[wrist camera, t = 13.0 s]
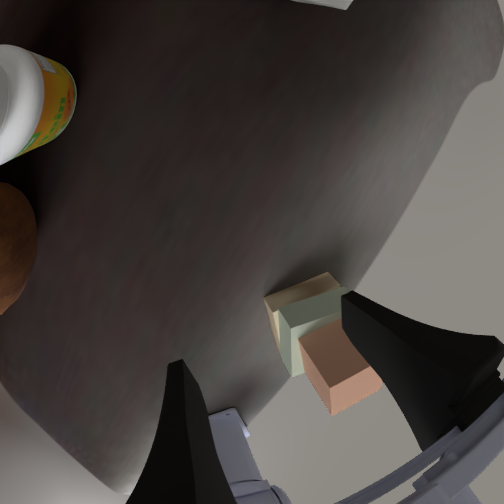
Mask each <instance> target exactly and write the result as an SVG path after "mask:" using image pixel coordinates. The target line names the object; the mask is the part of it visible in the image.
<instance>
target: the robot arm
mask: <svg viewBox="0 0 504 504" xmlns="http://www.w3.org/2000/svg"><path fill="white" fill-rule="evenodd" d="M341 316H342V329H343V330H344V332H345V333H346V335H347V337H348V338H349V340H350V341H351V343H352V344H353V346H354V347H355V348H356V349H357V351H358V352H359V353H360V354H361V355H362V357H363V358H364V359H365V360H366V361H367V363H368V364H369V365H370V366H371V367H372V368H373V370H374V371H375V372H376V373H377V374H378V376H379V377H380V378H381V379H382V381H383V382H384V383H385V385H386V386H387V388H388V390H389V391H390V393H391V394H392V396H393V397H394V399H395V400H396V402H397V404H398V406H399V407H400V409H401V411H402V412H403V414H404V416H405V418H406V420H407V422H408V423H409V425H410V427H411V429H412V431H413V433H414V435H415V437H416V439H417V442H418V444H419V446H420V448H421V450H422V451H423V452H422V453H421V454H419V455H418V456H416V457H415V458H414V459H412V460H410V461H409V462H407V463H406V464H404V465H403V466H401V467H400V468H398V469H397V470H395V471H394V472H392V473H391V474H389V475H387V476H386V477H384V478H382V479H380V480H379V481H377V482H375V483H373V484H372V485H370V486H368V487H366V488H364V489H362V490H361V491H359V492H357V493H355V494H353V495H351V496H349V497H347V498H345V499H343V500H341V501H339V502H337V503H335V504H368V503H370V502H372V501H373V500H375V499H377V498H379V497H381V496H382V495H384V494H386V493H387V492H389V491H391V490H392V489H394V488H396V487H397V486H399V485H400V484H402V483H404V482H405V481H407V480H408V479H410V478H411V477H413V476H414V475H416V474H417V473H418V472H420V471H421V470H423V469H424V468H426V467H427V466H428V465H429V464H431V463H432V462H434V461H435V460H436V459H438V458H439V457H440V456H441V457H440V460H439V461H438V462H437V463H436V464H435V465H434V466H432V467H431V468H430V469H428V470H427V471H426V472H424V473H423V475H422V476H421V477H420V478H419V479H417V480H416V481H415V482H414V483H413V487H414V488H415V489H416V491H415V492H414V493H412V494H411V495H409V496H408V497H406V498H405V499H403V500H402V501H400V502H398V503H397V504H481V502H480V501H479V500H478V498H477V497H476V495H475V494H474V493H473V491H472V490H471V489H470V487H469V486H468V485H469V484H470V483H471V482H472V481H473V480H474V479H475V478H476V477H477V476H479V474H481V473H482V472H483V471H484V469H486V467H487V466H488V465H489V464H490V463H491V462H492V461H493V460H494V459H495V458H496V457H497V456H498V455H499V454H500V452H501V451H502V450H503V449H504V378H503V380H501V379H500V378H499V376H500V372H499V371H498V370H497V368H498V366H499V364H500V362H501V361H502V359H503V357H504V344H503V343H501V341H499V340H498V339H497V338H496V337H495V336H487V335H473V334H465V333H459V332H454V331H449V330H445V329H440V328H437V327H433V326H430V325H427V324H424V323H421V322H418V321H415V320H413V319H410V318H408V317H405V316H403V315H401V314H398V313H396V312H394V311H392V310H390V309H388V308H385V307H384V306H382V305H380V304H377V303H375V302H374V301H371V300H370V299H368V298H366V297H364V296H362V295H360V294H358V293H356V292H354V291H350V292H348V293H346V294H344V295H341ZM248 436H250V433H249V431H248V429H247V428H246V426H245V424H244V423H243V421H242V419H241V417H240V416H239V414H238V412H237V411H236V409H235V408H230V409H227V410H225V411H222V412H219V413H216V414H213V415H210V416H208V413H207V409H206V405H205V402H204V399H203V396H202V393H201V390H200V387H199V385H198V383H197V382H196V380H195V378H194V377H193V375H192V374H191V372H190V370H189V369H188V367H187V366H186V364H185V362H184V361H183V359H181V360H178V361H175V362H172V363H169V364H168V367H167V378H166V386H165V393H164V399H163V404H162V410H161V414H160V419H159V423H158V428H157V431H156V435H155V438H154V442H153V445H152V448H151V451H150V454H149V456H148V459H147V462H146V464H145V467H144V469H143V471H142V473H141V476H140V478H139V480H138V482H137V484H136V486H135V488H134V490H133V492H132V493H131V495H130V497H129V499H128V500H127V502H126V504H291V501H290V499H289V498H288V496H287V494H286V493H285V492H284V491H283V490H282V489H281V488H279V487H277V486H275V485H271V486H270V485H269V483H268V480H262V477H261V475H260V472H259V470H258V468H257V465H256V463H255V460H254V458H253V455H252V453H251V450H250V448H249V445H248V443H247V440H246V437H248Z"/></svg>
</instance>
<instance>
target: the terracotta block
mask: <svg viewBox="0 0 504 504" xmlns="http://www.w3.org/2000/svg"><path fill="white" fill-rule="evenodd" d="M298 343H299V347H300V352H301V357H302V362H303V367H304V372H305V373H306V375H307V376H308V378H309V380H310V381H311V383H312V385H313V386H314V388H315V390H316V391H317V393H318V394H319V396H320V398H321V399H322V401H323V403H324V404H325V406H326V407H327V409H328V411H329V412H330V414H331V416H333V415H335V414H336V413H339V412H340V411H342V410H344V409H346V408H348V407H350V406H352V405H353V404H355V403H357V402H359V401H360V400H362V399H364V398H366V397H368V396H369V395H371V394H372V393H374V392H376V391H378V390H379V389H381V387H382V382H383V381H382V379H381V378H380V377H379V376H378V374H377V373H376V372H375V371H374V370H373V368H372V367H371V366H370V365H369V364H368V363H367V361H366V360H365V359H364V358H363V357H362V355H361V354H360V353H359V352H358V351H357V349H356V348H355V347H354V346H353V344H352V343H351V341H350V340H349V338H348V337H347V335H346V333H345V332H344V330H343V329H342V318H340V319H338V320H336V321H334V322H332V323H330V324H328V325H326V326H324V327H322V328H320V329H318V330H316V331H314V332H311V333H309V334H307V335H305V336H303V337H301V338H299V339H298Z"/></svg>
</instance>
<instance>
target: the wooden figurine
mask: <svg viewBox="0 0 504 504" xmlns="http://www.w3.org/2000/svg"><path fill="white" fill-rule="evenodd" d="M36 255H37V225H36V219H35V214H34V211H33V209H32V207H31V205H30V202H29V201H28V199H27V198H26V197H25V195H24V194H23V193H22V191H20V190H18V189H17V188H15V187H13V186H12V185H10V184H9V183H1V182H0V315H2V314H3V312H4V311H5V310H6V309H7V308H8V307H9V306H10V305H11V304H12V303H14V302H15V301H16V300H17V299H18V298H19V296H20V294H21V293H22V291H23V289H24V287H25V285H26V283H27V280H28V278H29V276H30V273H31V271H32V268H33V266H34V263H35V259H36Z"/></svg>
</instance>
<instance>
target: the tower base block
mask: <svg viewBox="0 0 504 504" xmlns="http://www.w3.org/2000/svg"><path fill="white" fill-rule="evenodd" d="M337 288H340V284H339V283H338V282H337V281H336V280H335V279H334V278H333V277H332V276H331V275H330V274H329V273H328V272H326V273H323V274H321V275H318V276H316V277H313V278H311V279H308V280H306V281H304V282H301V283H299V284H296V285H294V286H291V287H289V288H286V289H284V290H281V291H278V292H276V293H273V294H271V295H268V296H266V297H263V298H264V302H265V306H266V310H267V314H268V318H269V322H270V326H271V330H272V334H273V338H274V342H275V345H276V347H277V348H278V350H279V352H280V337H279V321H278V308H279V307H282V306H285V305H288V304H291V303H295V302H298V301H301V300H304V299H307V298H310V297H313V296H316V295H319V294H322V293H325V292H328V291H331V290H334V289H337Z"/></svg>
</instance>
